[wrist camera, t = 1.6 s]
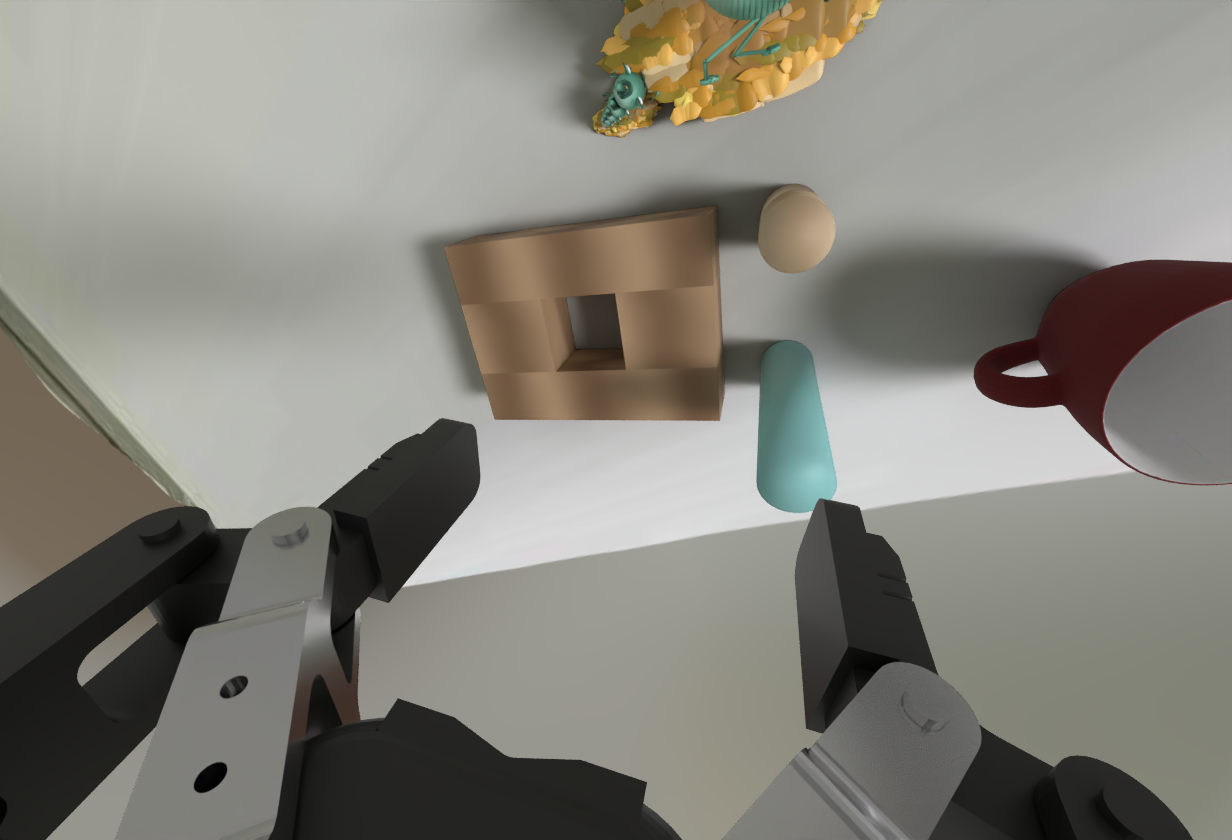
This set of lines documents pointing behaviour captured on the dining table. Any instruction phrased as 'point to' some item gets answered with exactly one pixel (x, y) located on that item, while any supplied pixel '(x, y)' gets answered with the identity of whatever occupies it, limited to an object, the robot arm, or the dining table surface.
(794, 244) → the short pin
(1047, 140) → the dining table surface
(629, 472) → the dining table surface
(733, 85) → the teal creature figurine
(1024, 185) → the dining table surface
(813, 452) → the long pin
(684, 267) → the hole block
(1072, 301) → the mug
